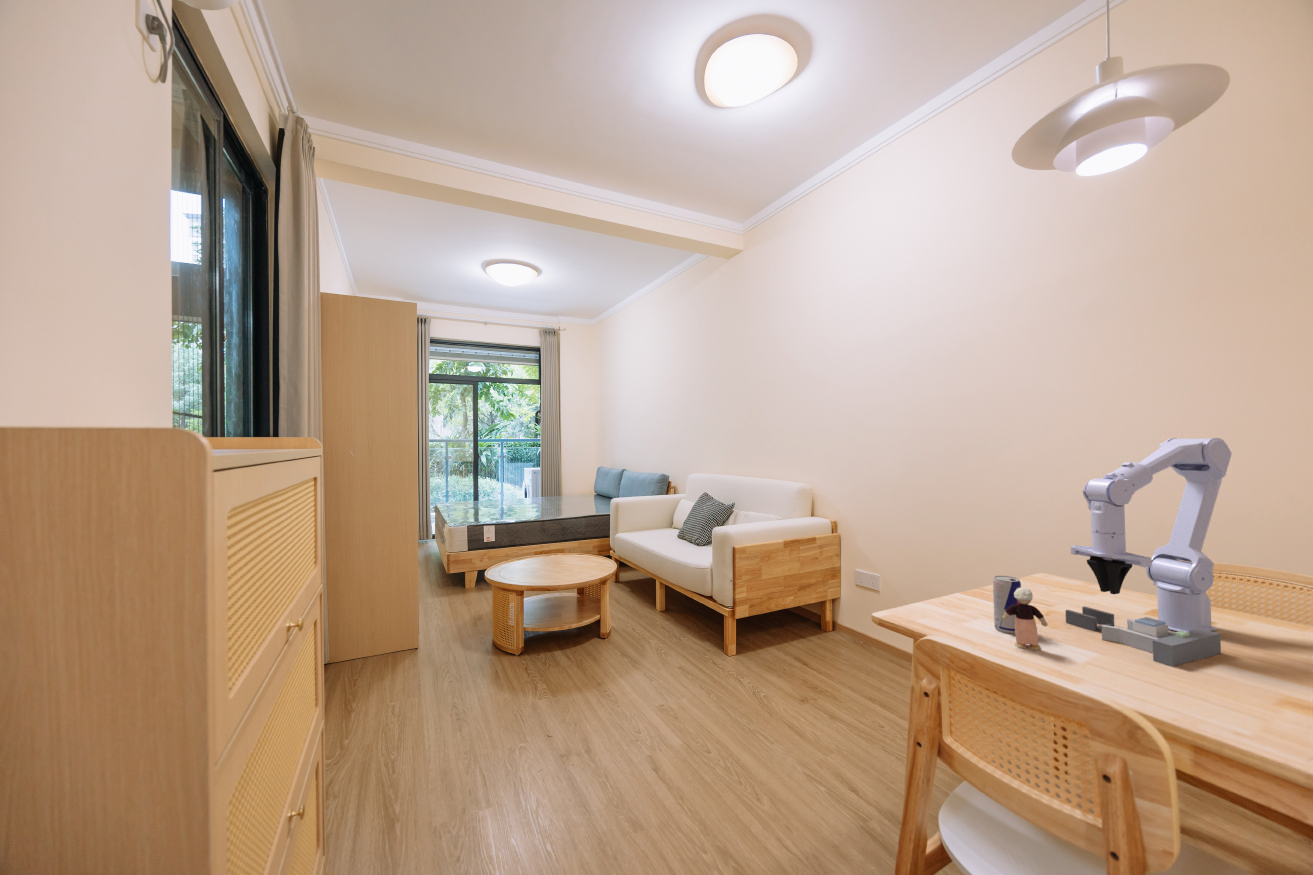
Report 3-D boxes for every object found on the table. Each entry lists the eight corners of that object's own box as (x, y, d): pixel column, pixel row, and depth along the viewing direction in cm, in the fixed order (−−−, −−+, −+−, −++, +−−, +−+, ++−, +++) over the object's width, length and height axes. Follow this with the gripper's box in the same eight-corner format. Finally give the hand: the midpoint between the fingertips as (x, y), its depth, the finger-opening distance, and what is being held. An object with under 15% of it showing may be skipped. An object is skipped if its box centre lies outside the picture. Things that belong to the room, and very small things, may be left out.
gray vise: (1100, 614, 126) (1099, 602, 126) (1132, 623, 120) (1131, 610, 120) (1064, 622, 122) (1064, 609, 122) (1095, 631, 116) (1095, 618, 116)
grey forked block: (1137, 629, 116) (1136, 609, 116) (1221, 653, 103) (1220, 630, 103) (1091, 640, 111) (1090, 619, 111) (1172, 666, 98) (1171, 642, 98)
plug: (1145, 641, 110) (1144, 616, 110) (1168, 648, 106) (1167, 622, 106) (1133, 644, 108) (1132, 618, 108) (1156, 651, 105) (1156, 625, 105)
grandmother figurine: (1042, 645, 109) (1040, 586, 109) (1050, 652, 106) (1047, 591, 106) (1001, 641, 112) (999, 583, 112) (1006, 648, 108) (1004, 588, 108)
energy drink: (1027, 634, 115) (1025, 581, 115) (1000, 633, 116) (999, 581, 116) (1015, 626, 120) (1013, 575, 120) (990, 625, 121) (988, 575, 121)
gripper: (1061, 528, 120) (1063, 585, 120) (1136, 539, 106) (1138, 603, 106) (1081, 526, 122) (1083, 582, 122) (1157, 536, 108) (1159, 599, 108)
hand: (1110, 592), depth 114 cm, fingers closed
